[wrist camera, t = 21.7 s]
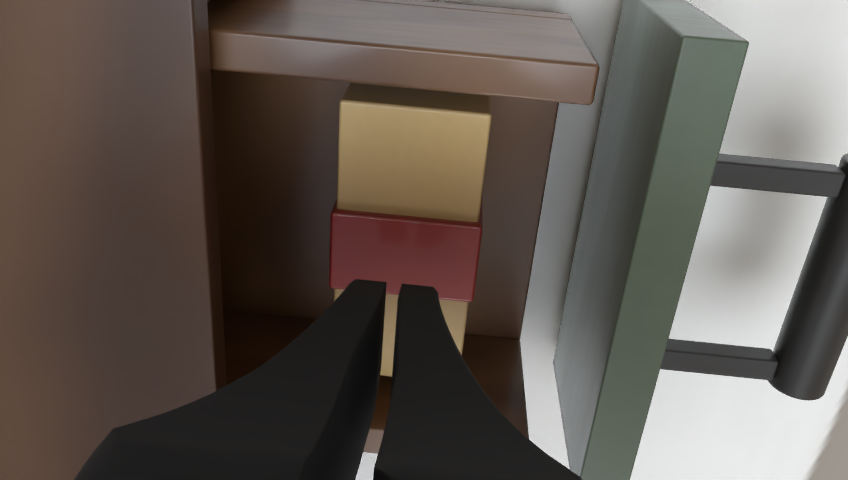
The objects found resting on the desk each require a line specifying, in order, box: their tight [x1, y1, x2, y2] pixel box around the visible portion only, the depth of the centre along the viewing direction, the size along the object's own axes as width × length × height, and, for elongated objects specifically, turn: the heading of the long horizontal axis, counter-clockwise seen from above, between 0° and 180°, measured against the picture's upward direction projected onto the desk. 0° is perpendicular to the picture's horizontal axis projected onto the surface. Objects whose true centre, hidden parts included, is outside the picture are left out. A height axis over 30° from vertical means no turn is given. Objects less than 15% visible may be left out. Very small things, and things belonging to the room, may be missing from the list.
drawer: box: [207, 0, 848, 480], centre depth 19 cm, size 17×11×6 cm, turn 85°
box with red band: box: [329, 83, 492, 376], centre depth 19 cm, size 7×3×4 cm, turn 176°
